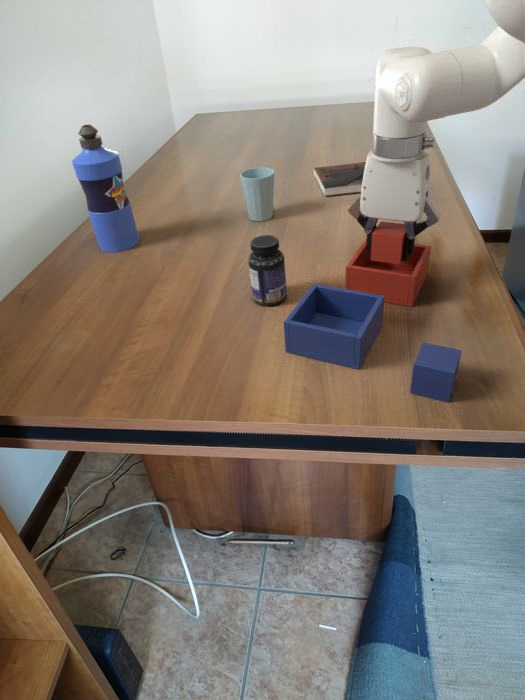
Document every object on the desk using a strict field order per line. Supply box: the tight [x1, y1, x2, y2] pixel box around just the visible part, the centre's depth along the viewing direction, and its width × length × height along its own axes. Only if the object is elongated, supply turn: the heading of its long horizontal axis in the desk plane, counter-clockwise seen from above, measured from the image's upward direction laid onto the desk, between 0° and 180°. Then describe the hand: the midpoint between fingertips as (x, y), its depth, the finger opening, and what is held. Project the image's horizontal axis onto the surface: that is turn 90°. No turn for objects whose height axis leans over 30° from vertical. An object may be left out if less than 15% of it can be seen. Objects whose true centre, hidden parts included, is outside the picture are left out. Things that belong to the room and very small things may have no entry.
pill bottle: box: [247, 234, 288, 307], centre depth 85 cm, size 6×6×11 cm
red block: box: [371, 221, 407, 265], centre depth 84 cm, size 5×5×5 cm
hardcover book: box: [313, 161, 366, 197], centre depth 130 cm, size 16×2×22 cm
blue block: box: [409, 342, 462, 403], centre depth 65 cm, size 5×5×5 cm
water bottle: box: [71, 124, 140, 253], centre depth 105 cm, size 9×9×25 cm
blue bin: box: [283, 283, 385, 370], centre depth 76 cm, size 12×12×6 cm
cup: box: [239, 166, 275, 223], centre depth 114 cm, size 8×8×10 cm
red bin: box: [344, 238, 432, 308], centre depth 87 cm, size 12×12×6 cm
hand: (389, 254), depth 85 cm, fingers closed on red block, 5 cm apart
